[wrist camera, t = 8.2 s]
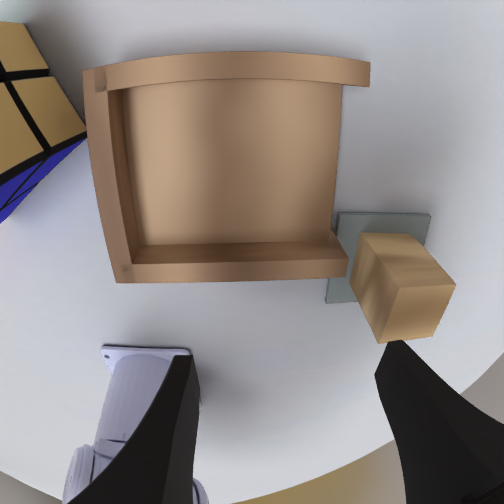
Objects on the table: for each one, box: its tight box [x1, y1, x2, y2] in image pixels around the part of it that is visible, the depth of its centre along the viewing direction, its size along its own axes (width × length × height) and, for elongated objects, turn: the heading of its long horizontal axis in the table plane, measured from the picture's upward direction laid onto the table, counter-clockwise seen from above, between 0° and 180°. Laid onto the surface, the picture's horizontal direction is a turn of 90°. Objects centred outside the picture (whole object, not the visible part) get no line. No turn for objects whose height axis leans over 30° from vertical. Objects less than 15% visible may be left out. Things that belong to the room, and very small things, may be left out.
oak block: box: [349, 232, 456, 344], centre depth 18 cm, size 4×4×6 cm
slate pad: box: [325, 212, 431, 304], centre depth 21 cm, size 7×7×1 cm
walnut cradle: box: [82, 51, 370, 283], centre depth 15 cm, size 13×11×4 cm
